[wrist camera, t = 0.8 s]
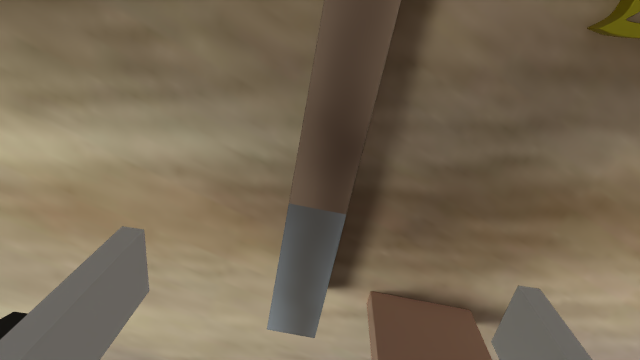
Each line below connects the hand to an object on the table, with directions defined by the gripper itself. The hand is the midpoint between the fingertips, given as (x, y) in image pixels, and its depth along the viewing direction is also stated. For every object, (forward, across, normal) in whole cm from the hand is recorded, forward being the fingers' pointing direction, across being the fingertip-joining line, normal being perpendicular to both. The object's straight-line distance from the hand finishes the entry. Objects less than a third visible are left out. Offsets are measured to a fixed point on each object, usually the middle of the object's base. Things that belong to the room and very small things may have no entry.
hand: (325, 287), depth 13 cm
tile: (+17, +11, -16) cm, 26 cm away
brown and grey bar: (+17, 0, -1) cm, 17 cm away
